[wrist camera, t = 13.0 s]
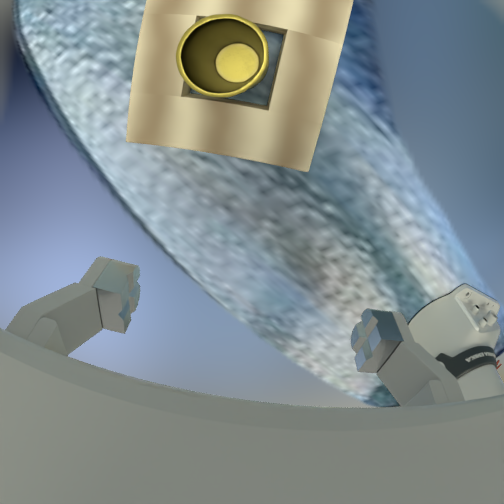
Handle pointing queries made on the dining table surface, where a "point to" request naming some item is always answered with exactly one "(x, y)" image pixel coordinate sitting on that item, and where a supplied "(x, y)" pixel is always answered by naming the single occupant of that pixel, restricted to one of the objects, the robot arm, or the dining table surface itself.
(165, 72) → the hole block
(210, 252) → the dining table surface
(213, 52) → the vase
